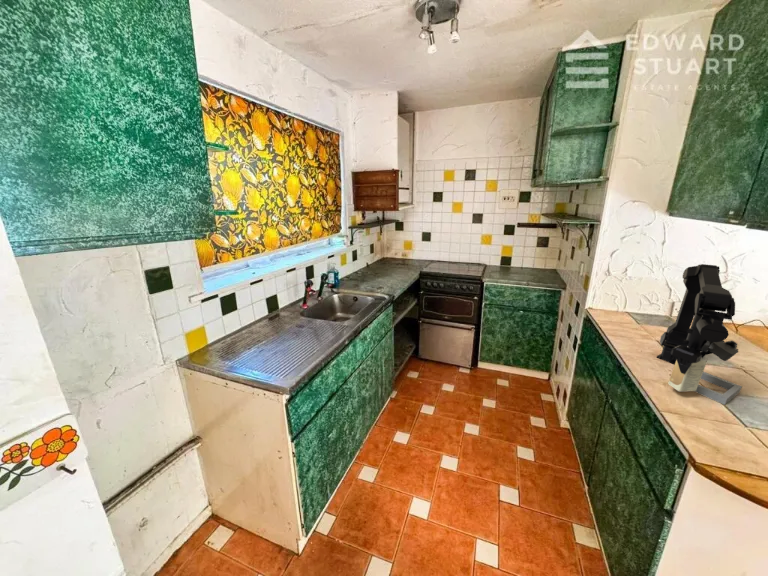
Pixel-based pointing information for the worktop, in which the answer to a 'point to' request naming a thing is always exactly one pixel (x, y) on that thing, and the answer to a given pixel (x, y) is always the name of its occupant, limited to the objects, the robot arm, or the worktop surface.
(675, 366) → the skincare box
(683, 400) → the worktop surface
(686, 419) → the worktop surface
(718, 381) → the holder
